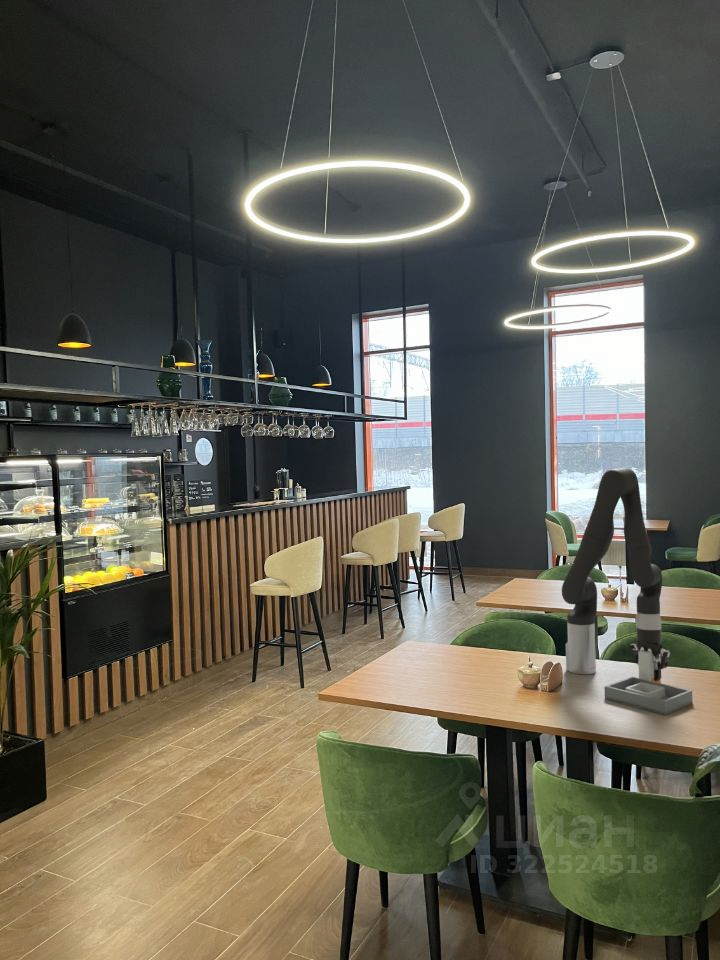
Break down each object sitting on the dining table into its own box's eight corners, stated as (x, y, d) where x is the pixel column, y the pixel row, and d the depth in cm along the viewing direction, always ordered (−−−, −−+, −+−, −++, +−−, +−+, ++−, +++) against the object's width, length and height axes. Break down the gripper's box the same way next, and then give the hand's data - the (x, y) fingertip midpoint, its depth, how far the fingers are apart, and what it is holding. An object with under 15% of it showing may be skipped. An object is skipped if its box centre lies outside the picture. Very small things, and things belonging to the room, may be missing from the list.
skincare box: (650, 690, 229) (649, 653, 229) (638, 687, 232) (637, 650, 232) (661, 687, 232) (660, 650, 232) (650, 684, 236) (649, 647, 236)
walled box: (604, 699, 222) (604, 686, 222) (632, 689, 231) (632, 676, 231) (665, 715, 206) (665, 701, 206) (692, 703, 215) (692, 690, 215)
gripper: (622, 624, 235) (623, 676, 236) (663, 631, 224) (664, 686, 224) (635, 621, 240) (636, 672, 240) (675, 628, 229) (677, 681, 229)
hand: (650, 678), depth 232 cm, fingers closed on skincare box, 4 cm apart
